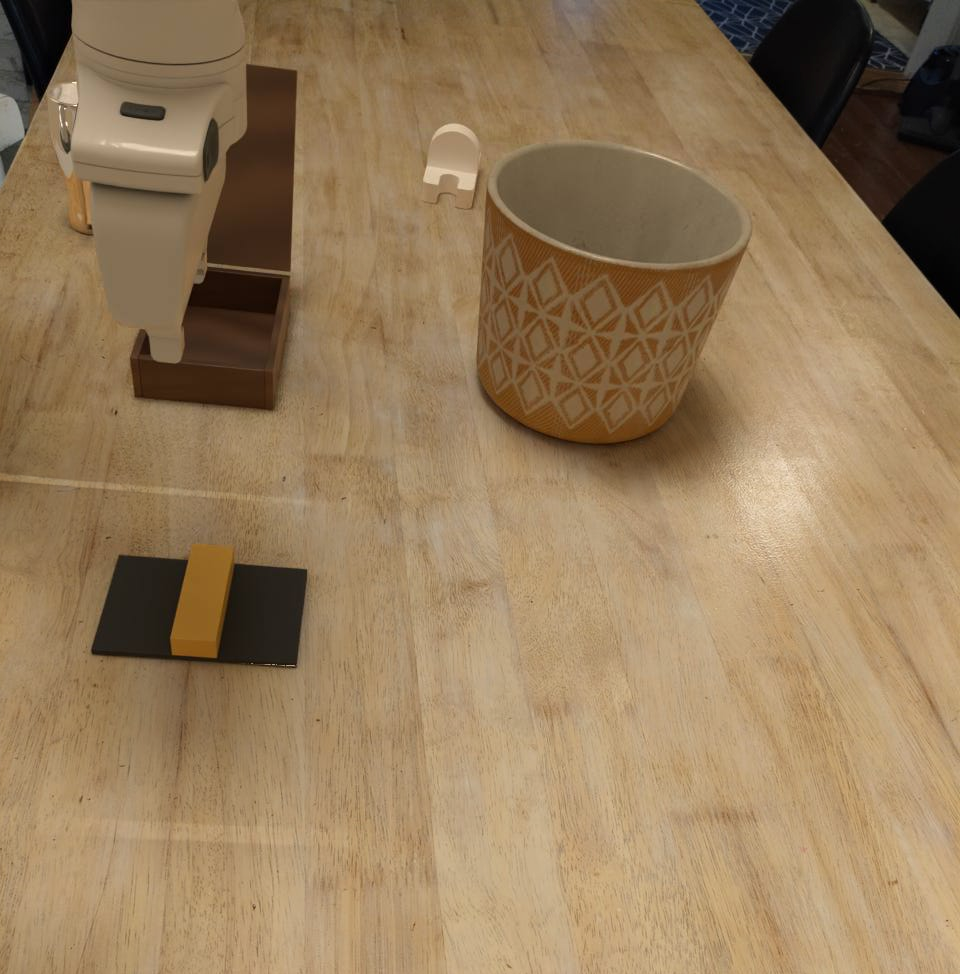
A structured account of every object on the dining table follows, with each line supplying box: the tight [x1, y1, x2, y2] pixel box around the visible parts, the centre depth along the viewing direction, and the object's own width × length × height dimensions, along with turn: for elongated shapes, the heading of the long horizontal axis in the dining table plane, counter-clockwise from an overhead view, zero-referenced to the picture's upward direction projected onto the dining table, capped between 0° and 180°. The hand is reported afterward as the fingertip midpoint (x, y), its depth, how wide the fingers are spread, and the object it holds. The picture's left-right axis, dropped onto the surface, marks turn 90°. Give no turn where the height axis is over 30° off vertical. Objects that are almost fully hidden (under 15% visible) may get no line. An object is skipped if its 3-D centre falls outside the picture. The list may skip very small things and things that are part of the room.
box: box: [129, 265, 291, 411], centre depth 111 cm, size 19×14×5 cm
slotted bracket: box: [420, 123, 482, 210], centre depth 145 cm, size 13×7×8 cm, turn 175°
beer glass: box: [45, 80, 93, 236], centre depth 123 cm, size 7×7×15 cm
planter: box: [476, 138, 754, 445], centre depth 110 cm, size 26×26×22 cm
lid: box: [206, 62, 298, 273], centre depth 110 cm, size 20×14×1 cm
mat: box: [90, 554, 308, 667], centre depth 88 cm, size 16×11×1 cm
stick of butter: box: [170, 543, 236, 658], centre depth 87 cm, size 11×4×2 cm, turn 1°
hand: (181, 315), depth 68 cm, fingers open, 8 cm apart
